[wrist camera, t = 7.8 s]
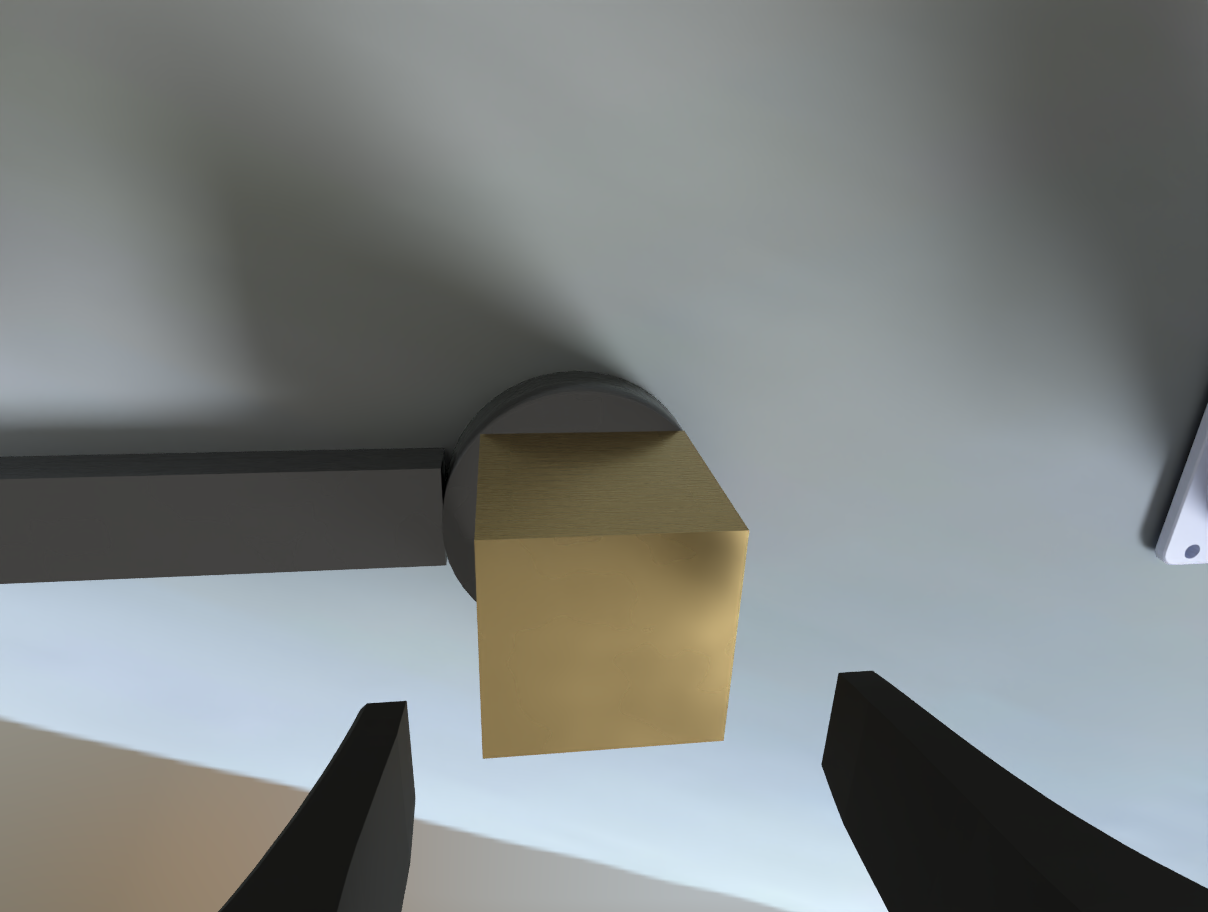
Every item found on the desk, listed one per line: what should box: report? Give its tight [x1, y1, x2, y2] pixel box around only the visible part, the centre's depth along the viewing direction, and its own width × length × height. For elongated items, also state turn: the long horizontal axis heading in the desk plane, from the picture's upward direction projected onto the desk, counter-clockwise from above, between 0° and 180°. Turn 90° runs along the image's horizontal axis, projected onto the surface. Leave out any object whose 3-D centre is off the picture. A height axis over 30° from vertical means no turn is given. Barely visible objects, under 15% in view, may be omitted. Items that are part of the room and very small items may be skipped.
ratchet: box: [0, 371, 683, 602], centre depth 18 cm, size 19×7×4 cm, turn 87°
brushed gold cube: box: [474, 431, 749, 759], centre depth 17 cm, size 5×5×5 cm
